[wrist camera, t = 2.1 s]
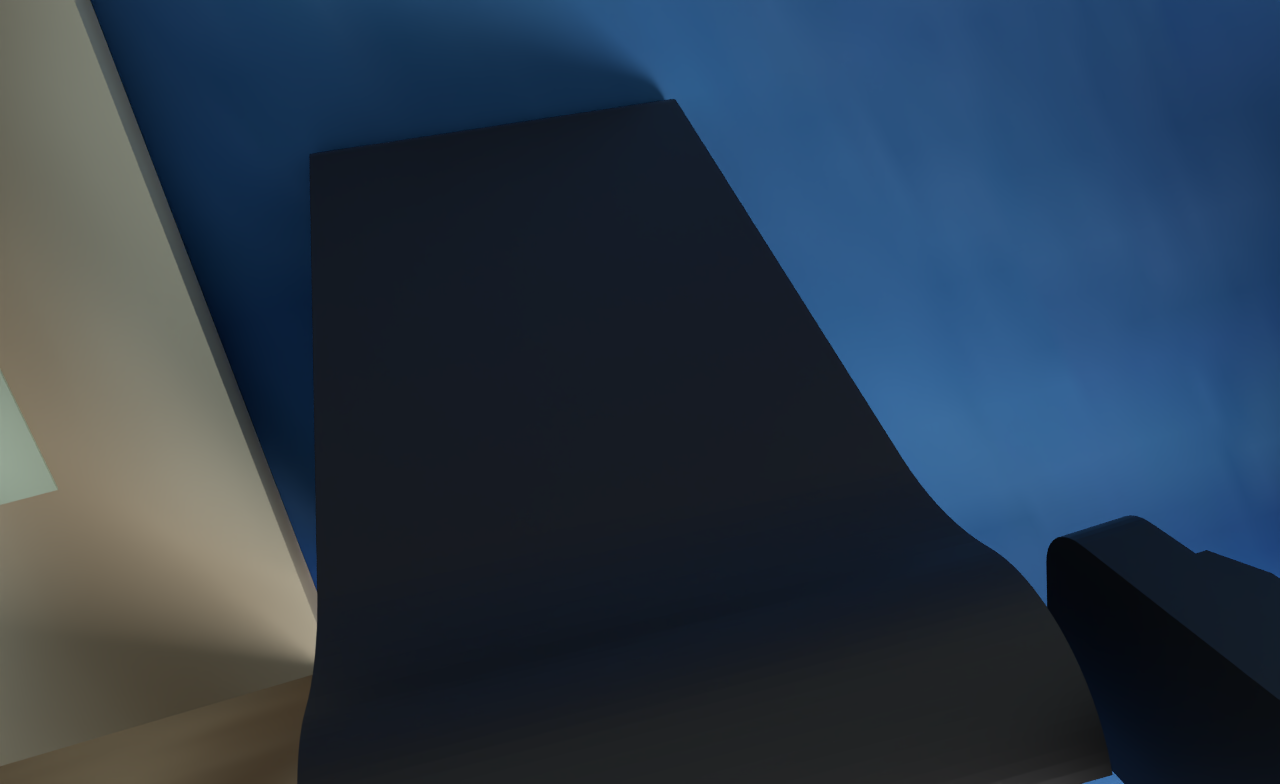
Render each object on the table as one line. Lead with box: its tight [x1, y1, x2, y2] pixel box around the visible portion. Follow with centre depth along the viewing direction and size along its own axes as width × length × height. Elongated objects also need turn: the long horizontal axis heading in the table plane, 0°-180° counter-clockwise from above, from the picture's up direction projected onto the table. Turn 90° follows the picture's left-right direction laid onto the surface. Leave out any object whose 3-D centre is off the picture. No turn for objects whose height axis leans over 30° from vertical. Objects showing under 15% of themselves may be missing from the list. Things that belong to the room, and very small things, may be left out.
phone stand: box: [297, 99, 1112, 784], centre depth 13 cm, size 9×6×12 cm, turn 6°
